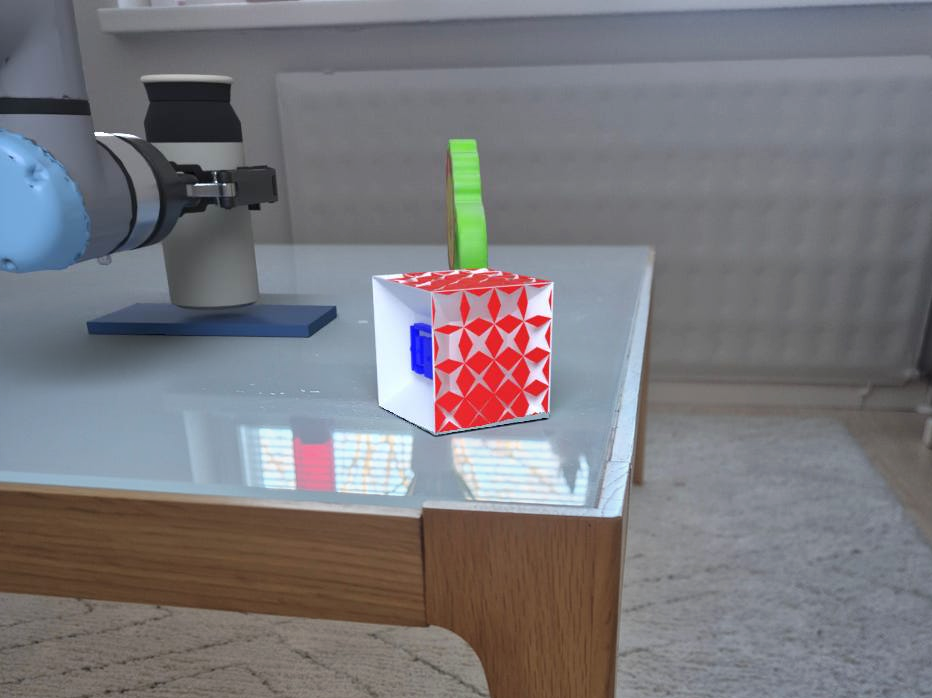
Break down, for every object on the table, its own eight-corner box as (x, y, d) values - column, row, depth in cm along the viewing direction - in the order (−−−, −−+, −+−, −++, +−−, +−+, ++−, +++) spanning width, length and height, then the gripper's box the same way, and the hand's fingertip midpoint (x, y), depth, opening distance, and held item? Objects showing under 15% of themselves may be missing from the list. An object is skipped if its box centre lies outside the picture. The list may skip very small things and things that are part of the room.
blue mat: (88, 333, 83) (85, 321, 83) (138, 313, 93) (136, 303, 93) (309, 337, 82) (308, 325, 81) (337, 316, 91) (336, 305, 91)
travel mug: (250, 310, 83) (223, 73, 75) (160, 311, 83) (123, 74, 75) (267, 297, 90) (245, 79, 82) (184, 298, 90) (153, 79, 82)
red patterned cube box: (549, 418, 58) (553, 281, 54) (435, 436, 54) (431, 291, 50) (484, 392, 64) (484, 267, 60) (378, 406, 60) (371, 275, 57)
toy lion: (509, 364, 72) (513, 138, 65) (438, 365, 71) (434, 138, 64) (488, 327, 86) (489, 139, 79) (429, 328, 85) (424, 139, 78)
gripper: (-17, 250, 69) (117, 226, 89) (261, 252, 67) (333, 226, 87) (-44, 134, 65) (101, 136, 85) (248, 132, 63) (327, 134, 83)
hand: (218, 181), depth 86 cm, fingers closed on travel mug, 8 cm apart
